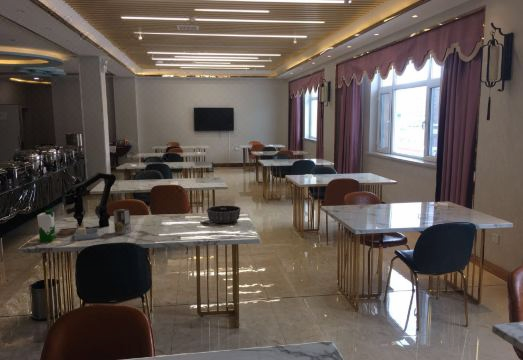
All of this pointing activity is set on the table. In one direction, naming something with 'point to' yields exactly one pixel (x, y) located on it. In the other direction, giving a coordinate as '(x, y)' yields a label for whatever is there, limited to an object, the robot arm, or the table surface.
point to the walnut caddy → (68, 231)
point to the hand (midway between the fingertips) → (80, 224)
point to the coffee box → (122, 221)
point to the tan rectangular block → (81, 231)
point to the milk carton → (46, 226)
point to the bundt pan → (223, 214)
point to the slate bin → (87, 236)
